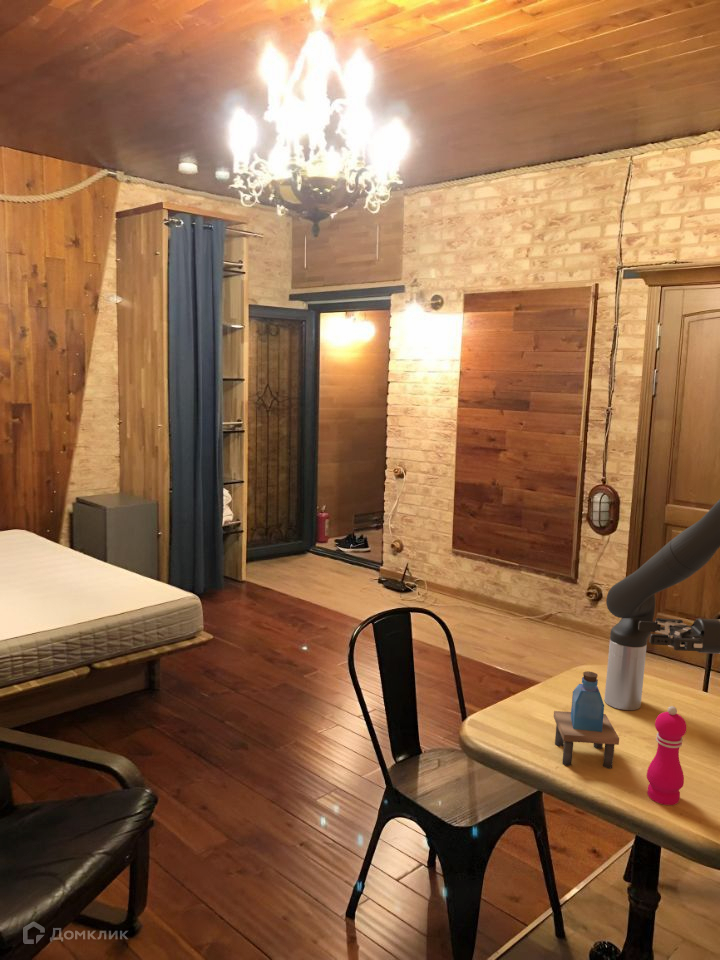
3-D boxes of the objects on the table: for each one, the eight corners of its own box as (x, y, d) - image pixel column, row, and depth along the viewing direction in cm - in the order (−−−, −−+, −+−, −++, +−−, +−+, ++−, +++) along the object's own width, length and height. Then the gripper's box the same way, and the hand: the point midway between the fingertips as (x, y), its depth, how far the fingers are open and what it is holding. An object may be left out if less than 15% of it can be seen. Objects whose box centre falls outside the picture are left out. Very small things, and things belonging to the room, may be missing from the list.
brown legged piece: (551, 740, 186) (554, 710, 185) (602, 744, 185) (605, 714, 184) (561, 766, 174) (564, 734, 173) (616, 770, 173) (619, 738, 172)
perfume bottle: (601, 731, 175) (606, 680, 173) (573, 728, 176) (577, 678, 174) (598, 719, 181) (602, 670, 179) (570, 716, 182) (574, 667, 180)
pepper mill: (662, 809, 158) (672, 716, 155) (637, 791, 165) (646, 701, 162) (689, 803, 161) (699, 711, 158) (663, 785, 168) (672, 697, 165)
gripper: (708, 610, 180) (636, 606, 181) (733, 631, 166) (655, 626, 167) (704, 641, 181) (633, 637, 182) (729, 664, 167) (652, 660, 168)
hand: (644, 632), depth 175 cm, fingers open, 8 cm apart
